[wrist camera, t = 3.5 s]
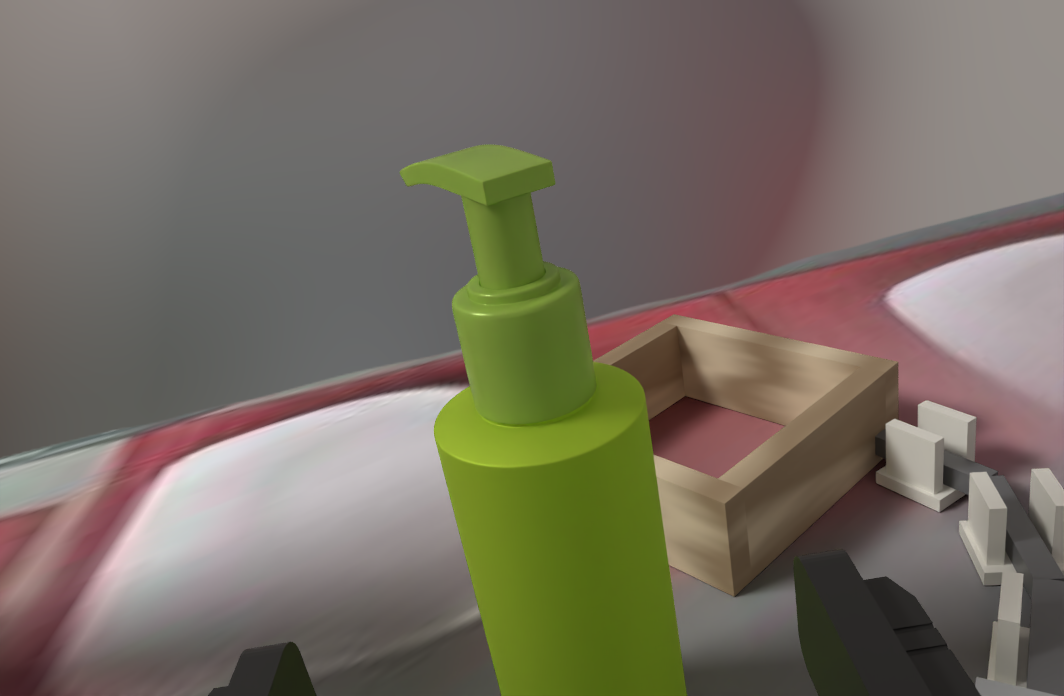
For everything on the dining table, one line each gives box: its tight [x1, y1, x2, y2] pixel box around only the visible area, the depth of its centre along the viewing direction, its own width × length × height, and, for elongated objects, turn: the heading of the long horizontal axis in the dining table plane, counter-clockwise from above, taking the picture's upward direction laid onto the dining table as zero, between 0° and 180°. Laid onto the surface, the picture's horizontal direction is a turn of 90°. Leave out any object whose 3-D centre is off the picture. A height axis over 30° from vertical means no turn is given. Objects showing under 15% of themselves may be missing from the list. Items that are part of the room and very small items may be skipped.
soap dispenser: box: [400, 145, 687, 696], centre depth 25 cm, size 6×7×20 cm
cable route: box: [875, 400, 1064, 696], centre depth 31 cm, size 6×19×3 cm, turn 169°
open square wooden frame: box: [593, 315, 898, 597], centre depth 41 cm, size 13×13×4 cm
